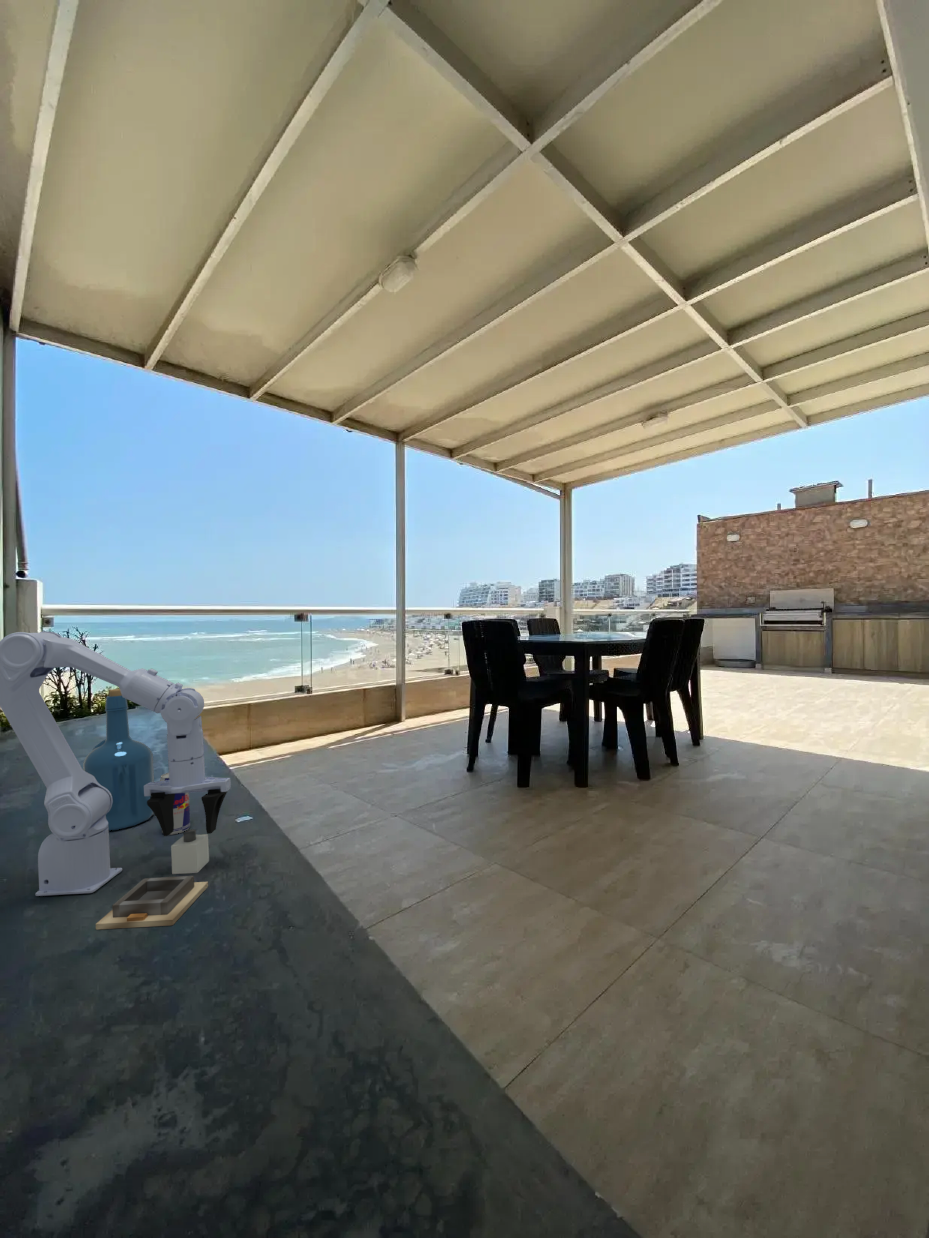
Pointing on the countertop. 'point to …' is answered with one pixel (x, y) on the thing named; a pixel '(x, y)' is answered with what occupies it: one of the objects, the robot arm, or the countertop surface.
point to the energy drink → (179, 810)
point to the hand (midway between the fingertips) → (190, 832)
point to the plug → (190, 853)
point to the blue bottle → (122, 767)
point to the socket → (153, 903)
